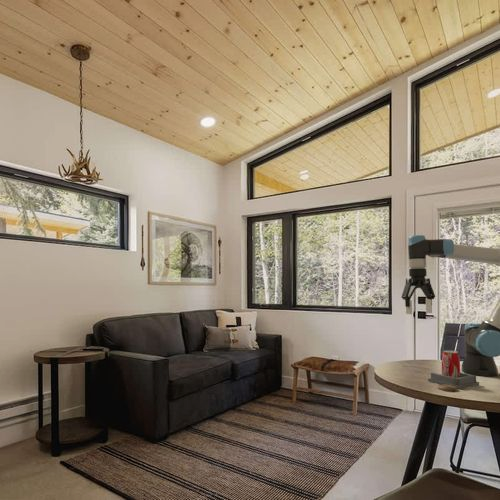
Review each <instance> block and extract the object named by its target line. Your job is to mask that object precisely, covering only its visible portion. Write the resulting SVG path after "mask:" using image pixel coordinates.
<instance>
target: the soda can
mask: <svg viewBox="0 0 500 500" xmlns="http://www.w3.org/2000/svg"><path fill="white" fill-rule="evenodd" d="M460 358H461V356H460V354H459V352H458V350H450V349H444V350H443V351H442V353H441V375H445V376H450V377H454V378H458V377H460V372H461V359H460Z"/></svg>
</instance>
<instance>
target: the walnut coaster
mask: <svg viewBox="0 0 500 500" xmlns="http://www.w3.org/2000/svg"><path fill="white" fill-rule="evenodd" d="M437 389H438V390H441V391H442V392H453V393H454V392H457V391H458V389H457V387H456V386H452V385H446V384H437Z"/></svg>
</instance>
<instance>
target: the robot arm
mask: <svg viewBox="0 0 500 500" xmlns="http://www.w3.org/2000/svg"><path fill="white" fill-rule="evenodd" d="M407 241H408V242H407V243H408V244H407V249H408V268H409V271H408V272H409V273H408V274H409V275H408V276H409V277H410V278H405V285H404V287H403V291H402V294H401V299H402V300H404V304H405V314H406V315H413V303H412V302H413V301H412V296H413V295H414V293H415V291H416V290H417V289H420V290H421V291H422V292H423V295H424V296H425V313H426V314H433V300H434V299H435V298H436V294H435V292H434V289H433V286H432V283H431V278H430V277H429V278H426V277H427V256H428V257H430V258H441V259H449V260H450V259H451V260H455V261H456V260H457V261H464V262H465V261H466V262H473V263H482V264H483V263H484V264H488V265H489V264H491V265H496V266H497V265H499V266H500V248H493V247H492V248H491V247H485V246H484V247H482V246H476V245H475V246H474V245H468V244H457V243H454V240H453V239H451V238H450V239H449V238H443V239H442V238H439V239H437V238H436V239H426V236H425V235H424V234H423V235H421V234H420V235H419V234H417V235H410V236H409V237H408V239H407ZM463 331H464V352H465V353H464V358H463V361H462V364H461V372H462V373H466V374H470V375H474V376H482V377H496V376H498V375H499V370H498V367H497V364H496V362H495V359H494V358H497V357H499V356H500V298H499V299H498V301H497V303H496V304H495V306H494V308H493V310H492V311H491V313H490V315H489V317H488V319H484V320H482V322H481V323H467V324H465V325H464V330H463Z"/></svg>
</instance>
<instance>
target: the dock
mask: <svg viewBox="0 0 500 500" xmlns="http://www.w3.org/2000/svg"><path fill="white" fill-rule="evenodd" d="M427 381H428V382H429V383H434V384H437V385H440V384H446V385H452V386H456V387H457V390H462V389H466V388H472V387H478V386H479V385H480V381H477V375H473V374H468V373H465V372H462V371H460V377H458V378H454V377H450V376H445V375H442V373H436V372H430V377H428V379H427Z"/></svg>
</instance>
